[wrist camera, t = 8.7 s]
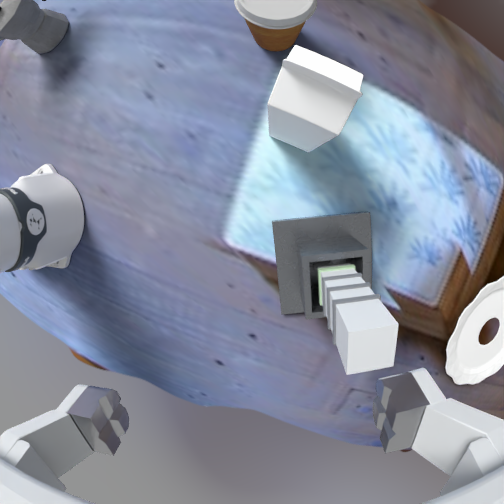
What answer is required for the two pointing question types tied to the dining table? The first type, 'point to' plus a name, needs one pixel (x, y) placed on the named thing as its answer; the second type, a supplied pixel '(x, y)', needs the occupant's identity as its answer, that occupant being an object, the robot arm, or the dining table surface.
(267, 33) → the disposable coffee cup
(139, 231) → the dining table surface
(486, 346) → the plate
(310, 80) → the milk
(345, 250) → the stand
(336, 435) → the dining table surface
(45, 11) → the coffeepot
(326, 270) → the column
